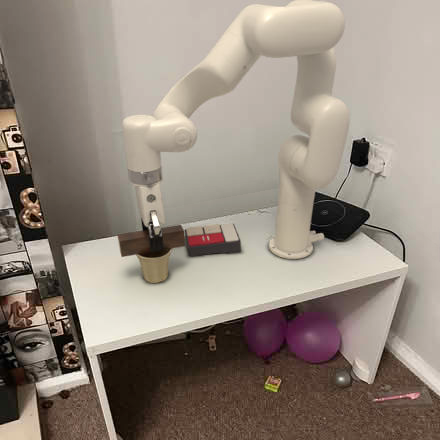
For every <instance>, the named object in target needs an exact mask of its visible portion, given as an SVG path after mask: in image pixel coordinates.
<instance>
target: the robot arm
mask: <svg viewBox="0 0 440 440" xmlns="http://www.w3.org/2000/svg"><path fill="white" fill-rule="evenodd" d="M345 24H346V20H345V15H344V14H343V11H342V10H341V8H340V7H339V6H337V4H334V3H332V2H329V1H328V2H327V1H320V0H292V1H290V2H289V3H287V4H286V5H285V6H274V5H268V4H262V3H252V4H249V5H247V6H245V7H244V8H243V9H241V11H240V12H239V14H237V16H236V17H235V18H234V19H233V21H232V23H231V24H230V25H229V26H228V27H227V29H226V30H225V31H224V33H223V34H222V35H221V36H220V38H219V39H218V40H217V42H216V43H215V44H214V45H213V47H212V48H211V49H210V51H209V52H208V53H207V54H206V56H205V57H204V59H203V60H201V62H200V63H198V64H197V65H196V66H195V67H193V68H192V69H190V71H189V72H188V73H186V74H185V75H184V76H183V77H182V78H180V79H179V80H178V81H176V83H175V84H173V86H172V87H171V88H170V89H169V91H168V92H167V93H166V95H165V96H164V97H163V98H162V100H161V101H160V103H159V104H158V105H157V107H156V109H155V110H154V112H153V115H149V114H133V115H129V116H127V117H125V118H124V119H123V120H122V123H121V129H122V139H123V144H124V152H125V159H126V165H127V174H128V181H129V184H130V185H132V186H134V189H135V190H134V191H135V197H136V203H137V208H138V209H137V210H138V213H139V216H140V221H141V231H144V230H149V235H150V236H149V245H150V251H151V252H153V251H159V250H163V249H164V247H163V237H162V232H161V228H162V227H161V225H163V226H164V225H165V224H166V217H165V210H164V209H165V208H164V201H163V194H162V189H161V185H160V184H161V183H162V182H163V181H164V179H163V166H162V156H161V155H162V153H184V152H186V151H189V150H191V149H192V148H193V147H195V144H196V143H197V141H198V130H197V127H196V125H195V123H194V122H193V121H192V120H191V119H190V117H191V116H192V115H193V114H194V113H195V112H196V111H197V110H198V109H199V108H200V107H201V106H202V105H203V104H205V103H207V102H208V101H209V100H212V99H215V98H217V97H221V96H224V95H225V96H226V95H227V94H229V93H231V92H233V91H234V90H235V89H236V88H237V86H238V85H239V84H240V83H241V81H242V80H243V79H244V77H245V76H246V75H247V73H248V72H250V70H251V69H252V67H253V66H254V65H255V64H256V63H257V62H258V60H259V59H260V58H261V56H263V57H265V58H271V59H281V58H282V59H283V58H293V57H296V60H297V73H296V79H295V80H296V81H295V85H294V92H293V98H292V102H291V110H290V121H291V123H292V125H293V126H294V128H296V129H297V130H298V131H300V132H301V133H303V134H305V135H307V136H305V135H301V134H296V135H292V136H290V137H288V138H286V139H285V140H284V141H283V143H282V144H281V145H280V148H279V151H278V156H277V157H278V159H277V163H278V164H277V165H278V175H279V178H278V181H279V183H278V186H279V187H278V196H277V197H278V198H277V206H276V207H277V209H276V221H275V231H274V232H275V233H274V236H273V237H272V238H270V240H269V242H268V249H269V250H270V252H271V253H272V254H274V255H275V256H277V257H280V258H283V259H288V260H297V259H304V258H306V257H308V256H309V255H311V254H312V252H313V250H314V245H313V243H314V242H316V241H323V240H324V239H325V235H324V233H323V232H320V233H316V230H311V225H312V224H311V223H312V216H313V210H314V202H315V197H316V190H317V189H318V190H319V189H323V188H326V187H328V186H329V185H330V184H331V183H332V182H333V181H334V180H335V178H336V176H337V174H338V172H339V170H340V166H341V162H342V158H343V154H344V150H345V146H346V142H347V138H348V135H349V129H350V123H351V121H350V119H351V117H350V112H349V109H348V107H347V105H346V104H345V102H343V101H342V100H341V99H339V98H338V97H335V96H333V88H334V83H335V82H334V81H335V75H336V69H337V55H336V50H335V47H336V45H337V44H338V43H339V42H340V41H341V40H342V37H343V35H344V33H345V27H346V25H345ZM151 229H154V230H151Z"/></svg>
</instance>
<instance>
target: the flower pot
mask: <svg viewBox="0 0 440 440" xmlns="http://www.w3.org/2000/svg"><path fill="white" fill-rule="evenodd" d="M172 251H173V248H172V249H166V250H160V251H155V252H149V253H143V254H137V255H136V257H137V260H138V261H139V264H140V268H141V272H142V275H143V279H144V280H145V281H146V282H148V283H151V284H159V283H160V282H164V281H166V279H167V278H168V277H169V264H170V256H171V253H172Z"/></svg>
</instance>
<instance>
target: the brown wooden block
mask: <svg viewBox="0 0 440 440" xmlns="http://www.w3.org/2000/svg"><path fill="white" fill-rule="evenodd" d="M151 230H154V229H151ZM161 232H162V237H163V247H164V249H163V250H166V249H172V250H173V249H177V248H178V249H179V248H184V247H186V238H185V229H184V228H183V226H182V224H177V225H171V226H163V227H161ZM149 236H150V235H149V230H144V231H143V230H138V231H132V232H125V233H119V234H117V242H118V248H119V253H120V256H121V258H125V257H131V256H137V254H143V253H149V252H151V251H150V245H149ZM159 251H160V250H159ZM153 252H155V251H153Z"/></svg>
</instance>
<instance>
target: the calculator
mask: <svg viewBox="0 0 440 440" xmlns="http://www.w3.org/2000/svg"><path fill="white" fill-rule="evenodd" d="M184 236H185V245H186V248H187V254H188V257H196V256H204V255H213V254H221V253H226V254H234V253H240V252H241V251H242V250H241V249H242V245H241V244H242V243H241V238H240V235H239V233H238V231H237V228H236V225H235V223H233V222H230V223H221V224H218V223H217V224H210V225H203V226H201V225H199V226H191V227H186V228H185V229H184Z"/></svg>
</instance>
